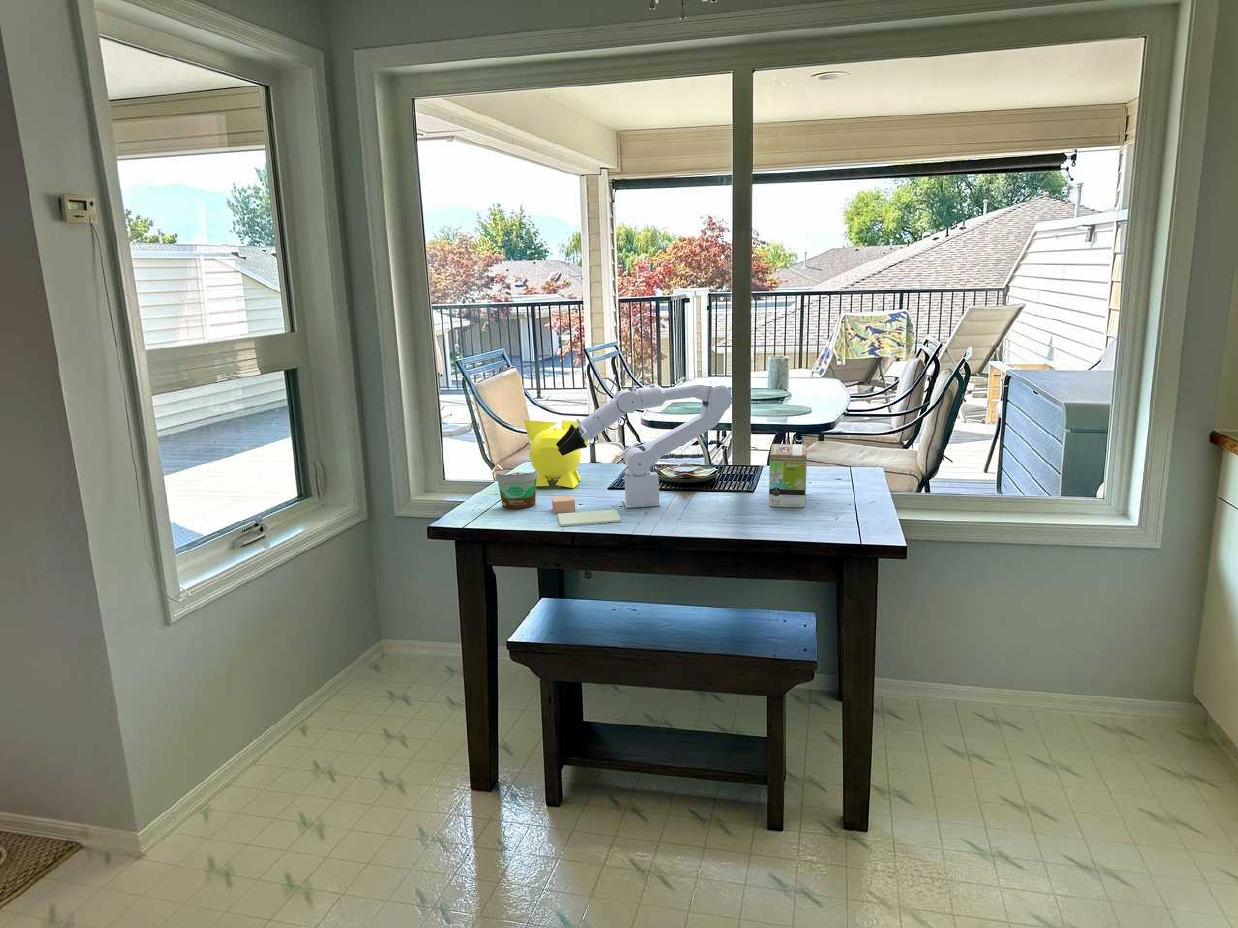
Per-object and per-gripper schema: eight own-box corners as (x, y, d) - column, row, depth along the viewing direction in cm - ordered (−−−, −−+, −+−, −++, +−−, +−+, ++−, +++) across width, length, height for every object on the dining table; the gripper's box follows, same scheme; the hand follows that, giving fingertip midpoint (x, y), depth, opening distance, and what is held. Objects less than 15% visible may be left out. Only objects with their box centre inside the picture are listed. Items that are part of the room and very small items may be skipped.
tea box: (806, 508, 235) (806, 454, 232) (768, 507, 238) (768, 454, 234) (806, 493, 250) (806, 442, 246) (770, 493, 252) (770, 442, 248)
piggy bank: (592, 474, 281) (589, 415, 277) (583, 490, 262) (580, 427, 258) (531, 475, 284) (527, 416, 279) (518, 490, 265) (514, 428, 260)
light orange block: (574, 508, 245) (573, 496, 244) (575, 512, 240) (574, 500, 239) (552, 509, 244) (551, 497, 243) (553, 514, 240) (552, 501, 239)
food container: (498, 512, 242) (495, 477, 240) (497, 506, 248) (494, 472, 246) (542, 508, 245) (540, 473, 242) (540, 502, 250) (538, 468, 248)
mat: (616, 511, 239) (616, 509, 239) (621, 521, 229) (621, 519, 229) (557, 515, 237) (557, 513, 237) (560, 526, 227) (560, 524, 227)
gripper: (588, 405, 245) (548, 433, 245) (593, 412, 231) (552, 443, 231) (602, 425, 246) (563, 453, 246) (609, 434, 232) (567, 464, 232)
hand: (559, 450), depth 239 cm, fingers open, 7 cm apart
